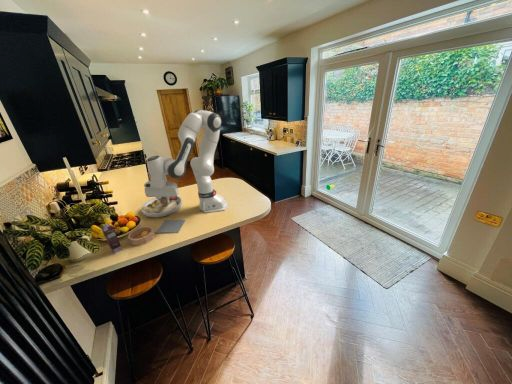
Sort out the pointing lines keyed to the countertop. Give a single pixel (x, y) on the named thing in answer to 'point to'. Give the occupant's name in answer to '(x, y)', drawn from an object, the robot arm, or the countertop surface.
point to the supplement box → (111, 238)
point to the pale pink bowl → (165, 205)
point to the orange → (144, 233)
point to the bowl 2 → (149, 205)
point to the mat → (170, 226)
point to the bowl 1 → (139, 231)
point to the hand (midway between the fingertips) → (164, 202)
